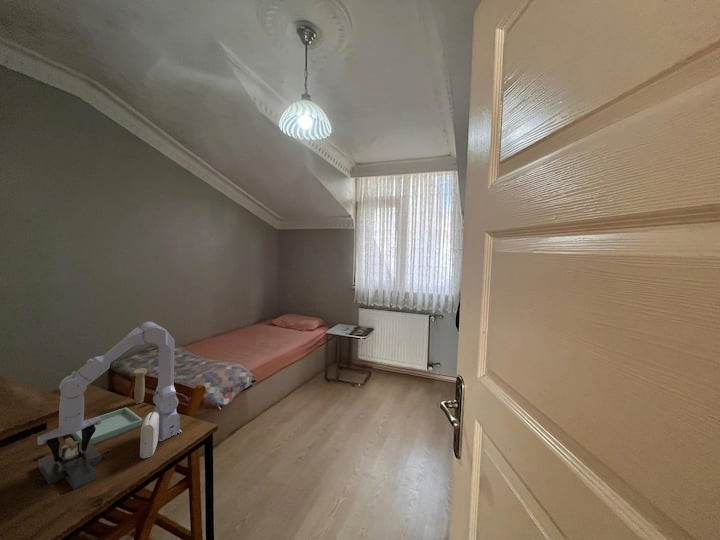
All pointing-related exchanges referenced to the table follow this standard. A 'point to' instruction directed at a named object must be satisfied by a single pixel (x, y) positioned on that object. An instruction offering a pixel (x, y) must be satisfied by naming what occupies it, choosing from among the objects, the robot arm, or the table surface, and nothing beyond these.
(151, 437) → the photo printer
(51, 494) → the table surface
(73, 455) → the clear tall piece
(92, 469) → the plate
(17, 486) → the table surface
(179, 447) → the table surface
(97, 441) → the tray
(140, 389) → the handle
